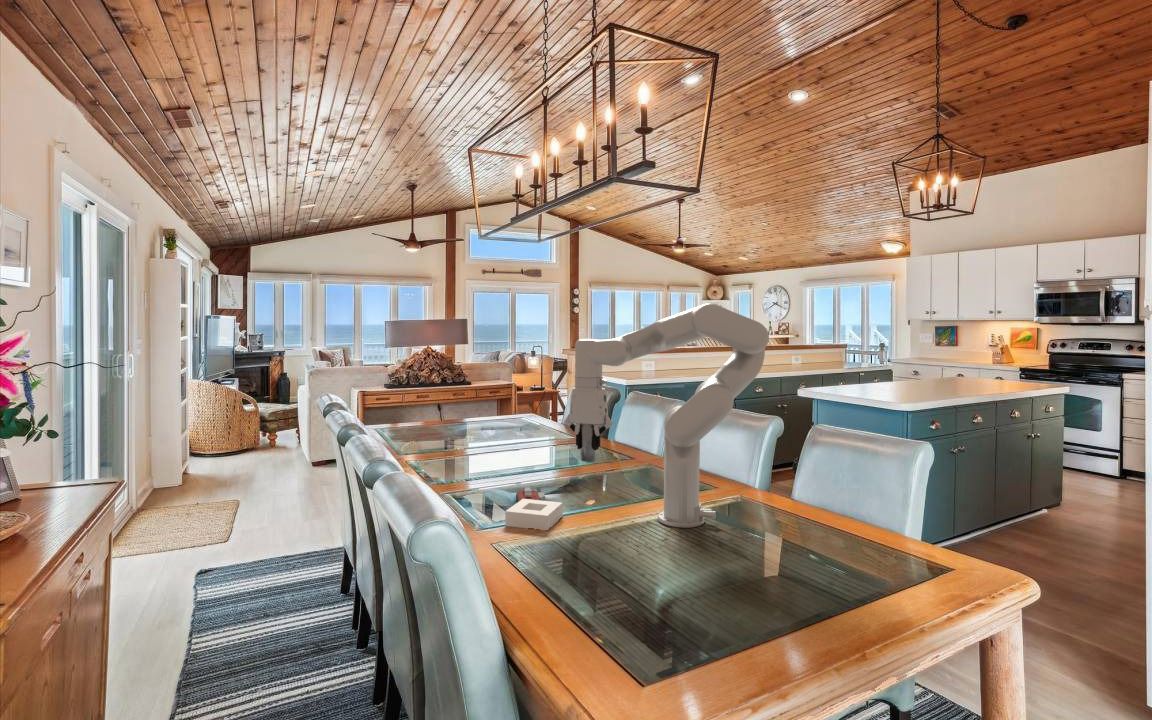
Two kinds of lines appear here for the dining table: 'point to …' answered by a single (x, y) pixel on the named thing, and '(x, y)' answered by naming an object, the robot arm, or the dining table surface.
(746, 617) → the dining table surface
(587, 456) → the peg
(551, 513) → the socket block
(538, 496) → the walkie-talkie
